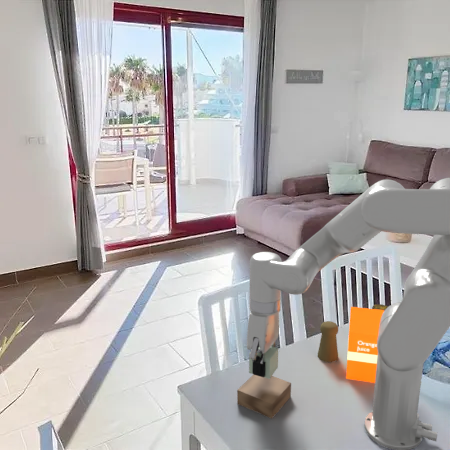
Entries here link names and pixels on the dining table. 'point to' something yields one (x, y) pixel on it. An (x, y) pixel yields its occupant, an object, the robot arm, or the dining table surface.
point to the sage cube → (267, 362)
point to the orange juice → (363, 344)
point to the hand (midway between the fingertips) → (263, 368)
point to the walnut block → (264, 394)
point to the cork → (328, 342)
